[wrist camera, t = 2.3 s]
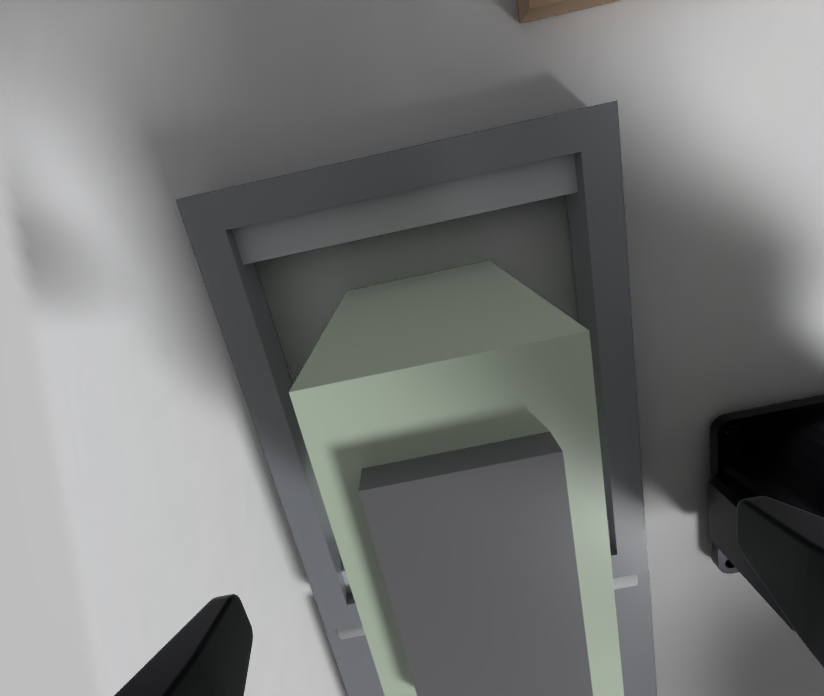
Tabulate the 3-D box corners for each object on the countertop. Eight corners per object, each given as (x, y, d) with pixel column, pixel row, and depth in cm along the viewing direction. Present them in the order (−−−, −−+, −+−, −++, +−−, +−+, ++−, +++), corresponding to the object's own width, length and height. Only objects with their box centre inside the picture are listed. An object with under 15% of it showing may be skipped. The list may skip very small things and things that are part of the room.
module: (489, 260, 14) (607, 342, 6) (523, 480, 17) (640, 747, 9) (347, 290, 15) (278, 409, 6) (401, 503, 17) (402, 787, 9)
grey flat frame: (602, 109, 13) (636, 94, 11) (653, 788, 22) (677, 844, 20) (190, 201, 14) (156, 202, 12) (404, 829, 23) (404, 887, 21)
